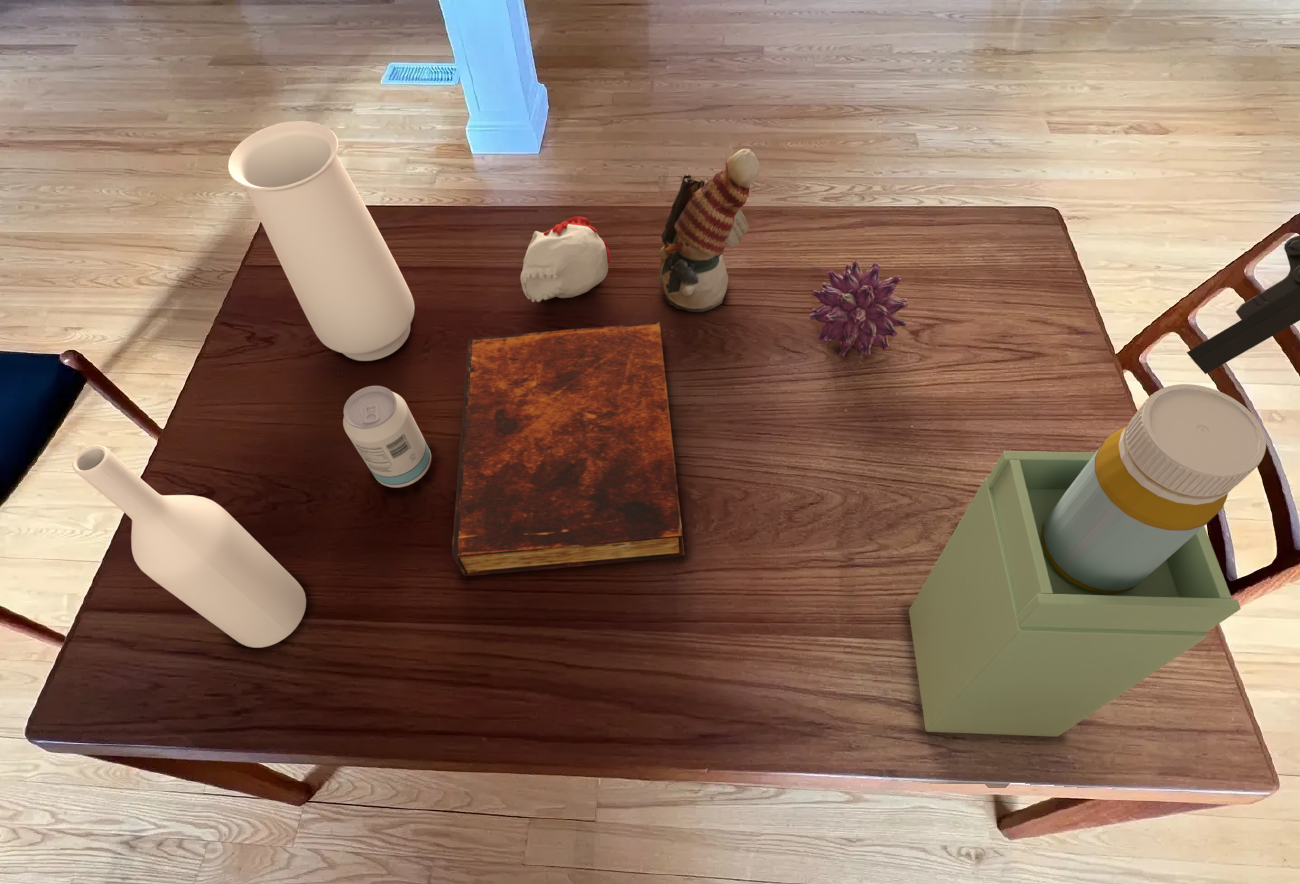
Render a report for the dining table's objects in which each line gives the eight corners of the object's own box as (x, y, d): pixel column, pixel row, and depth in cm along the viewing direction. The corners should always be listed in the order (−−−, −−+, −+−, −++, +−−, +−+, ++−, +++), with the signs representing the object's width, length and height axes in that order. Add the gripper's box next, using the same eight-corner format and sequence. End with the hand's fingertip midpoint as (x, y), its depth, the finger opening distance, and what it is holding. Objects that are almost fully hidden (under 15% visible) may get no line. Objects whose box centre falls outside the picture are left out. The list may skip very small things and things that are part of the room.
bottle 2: (1100, 617, 53) (1224, 506, 40) (1016, 541, 56) (1106, 417, 44) (1166, 560, 55) (1303, 438, 42) (1081, 490, 58) (1185, 358, 46)
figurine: (669, 245, 112) (665, 119, 96) (756, 258, 110) (767, 130, 94) (645, 313, 105) (636, 189, 89) (738, 328, 103) (746, 204, 86)
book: (476, 364, 102) (466, 338, 98) (662, 348, 102) (660, 321, 98) (462, 576, 85) (450, 556, 81) (684, 556, 85) (683, 535, 81)
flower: (791, 340, 103) (857, 284, 105) (859, 393, 97) (928, 333, 99) (783, 284, 94) (856, 223, 95) (858, 339, 88) (934, 274, 89)
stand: (1029, 613, 80) (1180, 449, 55) (1058, 736, 73) (1243, 613, 48) (908, 610, 81) (1002, 447, 56) (925, 731, 74) (1040, 608, 49)
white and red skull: (525, 317, 105) (540, 250, 115) (609, 316, 104) (617, 249, 114) (512, 261, 98) (530, 195, 108) (602, 260, 98) (612, 193, 108)
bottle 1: (238, 580, 86) (53, 420, 61) (312, 572, 86) (157, 409, 61) (222, 652, 82) (15, 511, 57) (301, 644, 82) (128, 499, 57)
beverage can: (432, 437, 96) (401, 375, 86) (435, 485, 92) (403, 425, 82) (374, 449, 95) (337, 387, 85) (375, 497, 91) (336, 439, 81)
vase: (430, 296, 109) (357, 113, 86) (412, 370, 102) (328, 191, 79) (338, 298, 110) (241, 118, 87) (314, 371, 103) (202, 195, 79)
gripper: (2066, 440, 31) (1431, 654, 42) (1535, 88, 45) (1163, 320, 56) (2162, 383, 26) (1416, 642, 38) (1534, 8, 40) (1127, 280, 51)
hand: (1263, 449), depth 47 cm, fingers open, 13 cm apart
